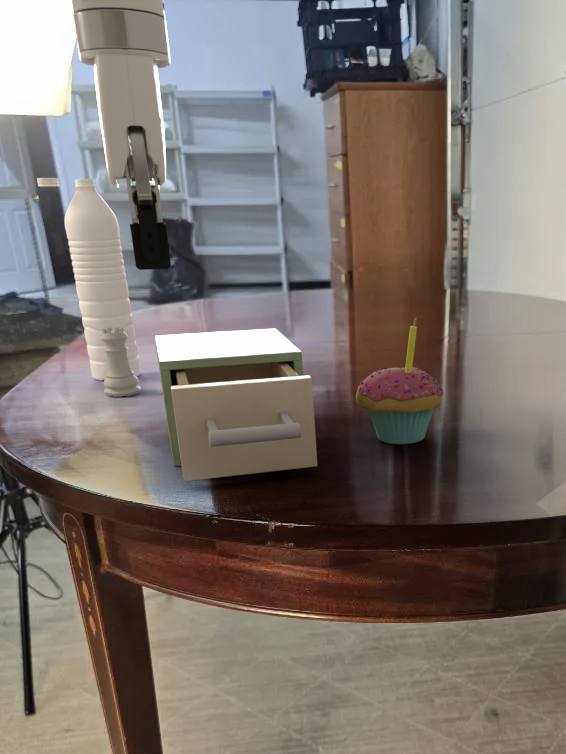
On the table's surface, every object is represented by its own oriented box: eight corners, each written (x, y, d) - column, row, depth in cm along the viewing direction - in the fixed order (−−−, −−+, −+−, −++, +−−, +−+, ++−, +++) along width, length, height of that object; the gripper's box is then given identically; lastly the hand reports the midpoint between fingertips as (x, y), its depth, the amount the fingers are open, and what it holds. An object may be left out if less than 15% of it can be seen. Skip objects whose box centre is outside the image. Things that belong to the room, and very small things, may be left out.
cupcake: (457, 434, 79) (459, 313, 74) (411, 455, 73) (410, 325, 68) (389, 422, 84) (387, 308, 79) (340, 442, 77) (334, 319, 73)
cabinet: (308, 451, 75) (301, 351, 71) (173, 466, 71) (158, 361, 67) (282, 415, 87) (275, 328, 83) (167, 425, 84) (154, 335, 80)
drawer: (331, 487, 63) (326, 392, 60) (188, 504, 60) (174, 405, 57) (289, 426, 80) (284, 350, 76) (175, 437, 76) (164, 358, 73)
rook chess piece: (97, 396, 97) (85, 331, 93) (119, 388, 100) (108, 325, 97) (127, 398, 95) (116, 332, 92) (148, 390, 99) (139, 326, 96)
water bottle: (139, 369, 111) (110, 178, 101) (143, 378, 106) (112, 177, 95) (75, 375, 108) (37, 178, 98) (74, 384, 103) (35, 177, 92)
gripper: (82, 55, 72) (114, 264, 79) (70, 24, 59) (110, 277, 66) (165, 59, 74) (189, 261, 82) (172, 29, 61) (199, 273, 69)
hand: (153, 268), depth 74 cm, fingers closed
